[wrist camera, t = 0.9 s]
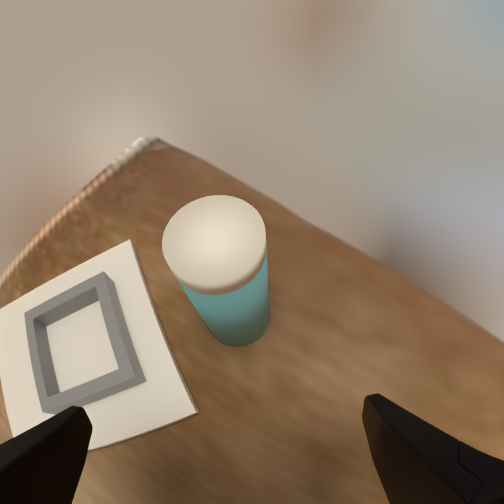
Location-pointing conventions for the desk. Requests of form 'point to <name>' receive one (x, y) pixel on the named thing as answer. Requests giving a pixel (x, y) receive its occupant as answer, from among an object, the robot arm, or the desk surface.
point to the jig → (92, 352)
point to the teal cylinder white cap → (222, 265)
